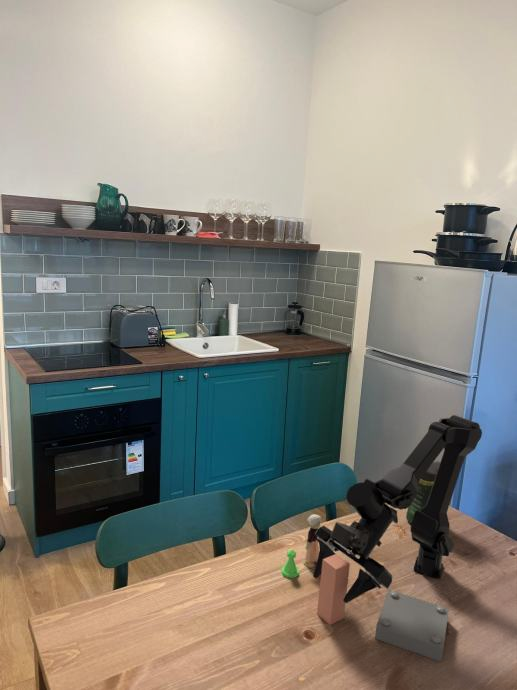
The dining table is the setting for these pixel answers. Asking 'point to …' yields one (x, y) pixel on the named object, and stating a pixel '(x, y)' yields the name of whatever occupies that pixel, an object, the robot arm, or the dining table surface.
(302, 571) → the dining table surface
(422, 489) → the coffee jar
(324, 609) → the pillar brick
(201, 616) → the dining table surface
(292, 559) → the game piece
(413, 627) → the base brick
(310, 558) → the grandmother figurine
